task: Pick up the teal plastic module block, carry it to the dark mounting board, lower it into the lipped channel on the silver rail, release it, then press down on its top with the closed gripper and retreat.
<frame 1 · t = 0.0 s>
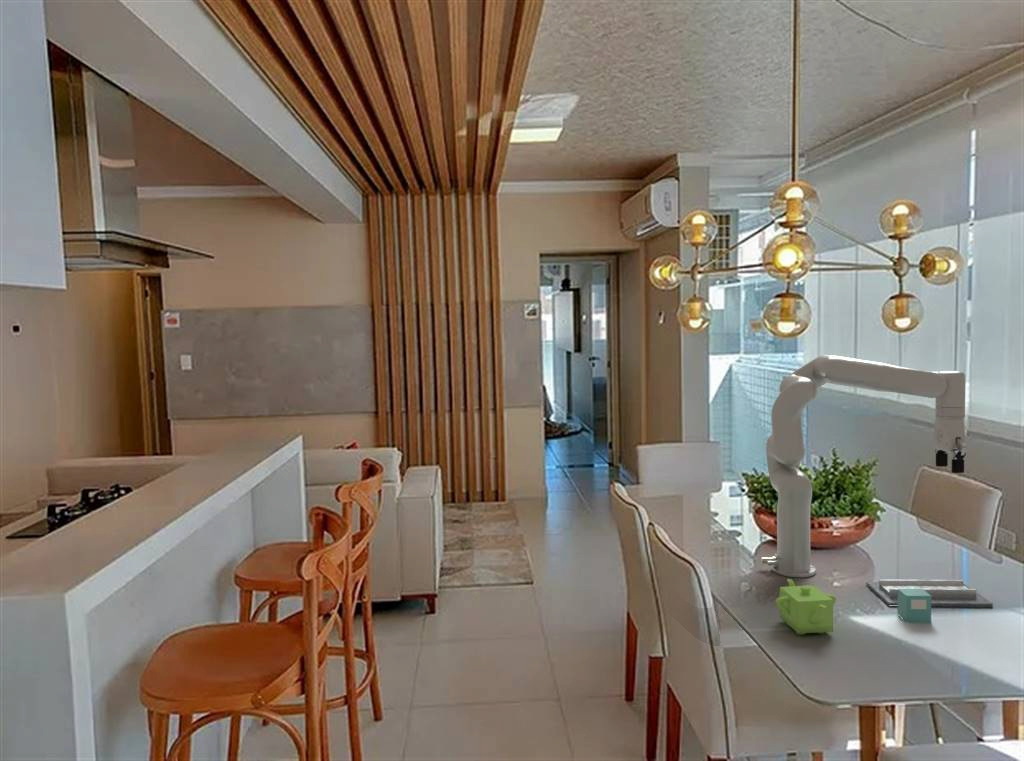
hand: (949, 469, 216), 31 cm above the table, tool pointing down, fingers open, 9 cm apart
rail board: (926, 595, 200), on the table
teapot: (805, 629, 181), on the table
module: (914, 618, 185), on the table
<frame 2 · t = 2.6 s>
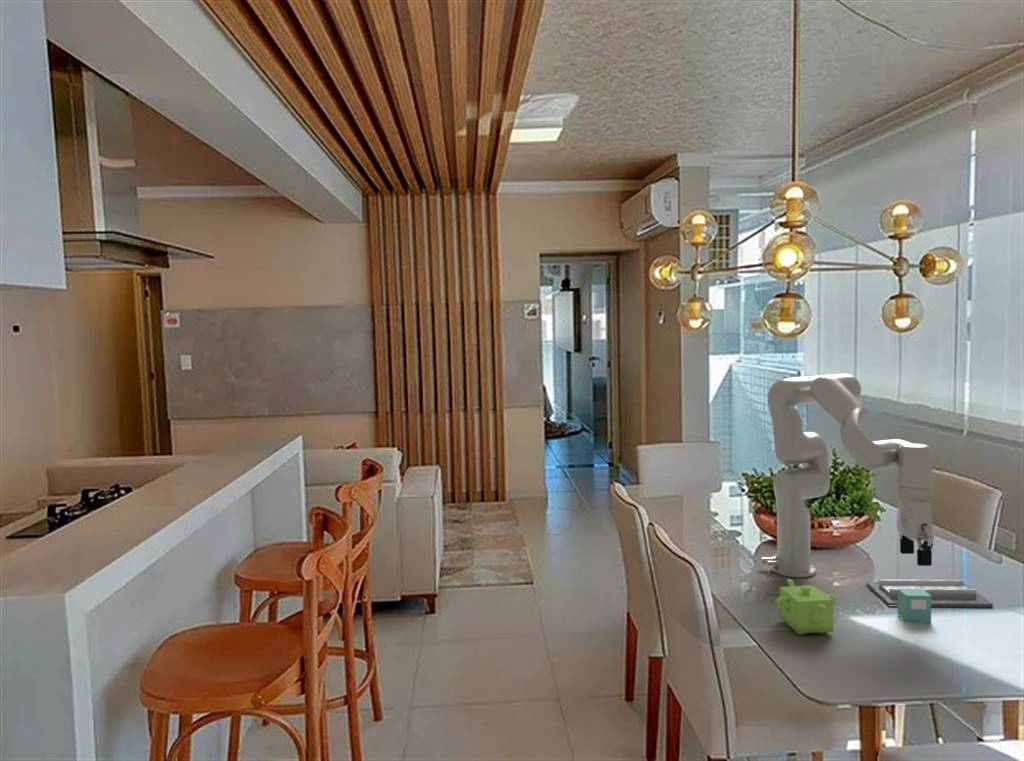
hand: (915, 559, 184), 16 cm above the table, tool pointing down, fingers open, 9 cm apart
nothing on the table moved.
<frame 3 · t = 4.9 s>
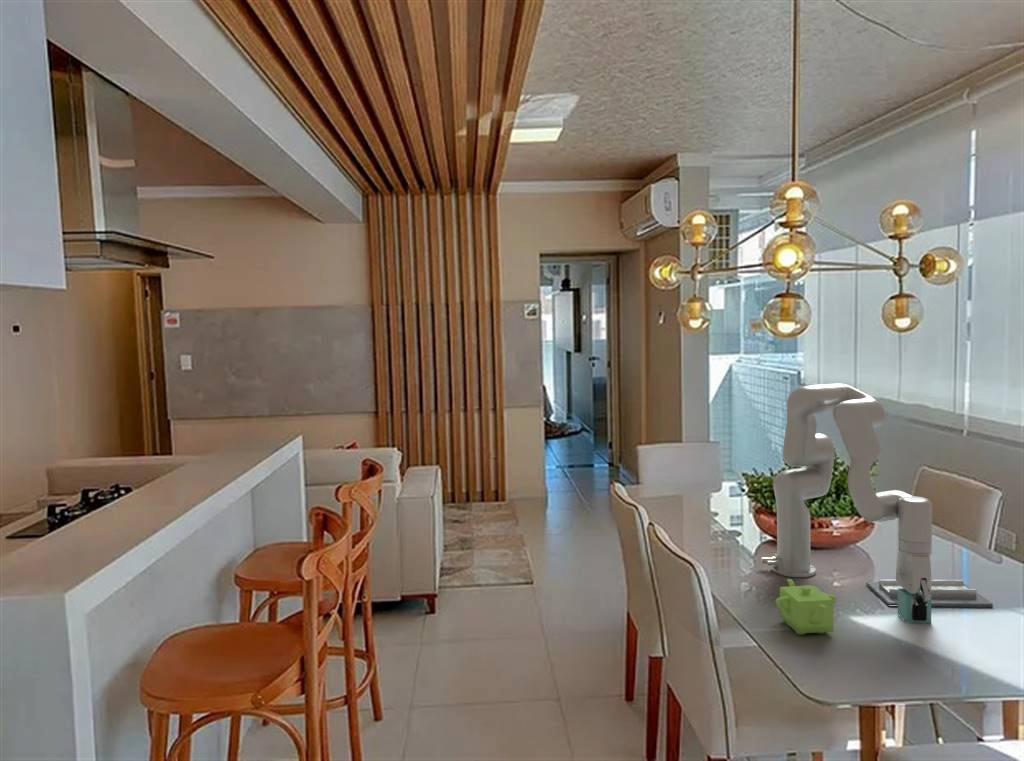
hand: (914, 614, 185), 1 cm above the table, tool pointing down, fingers closed on module, 5 cm apart
module: (914, 618, 185), on the table, touching gripper
everything else where it was.
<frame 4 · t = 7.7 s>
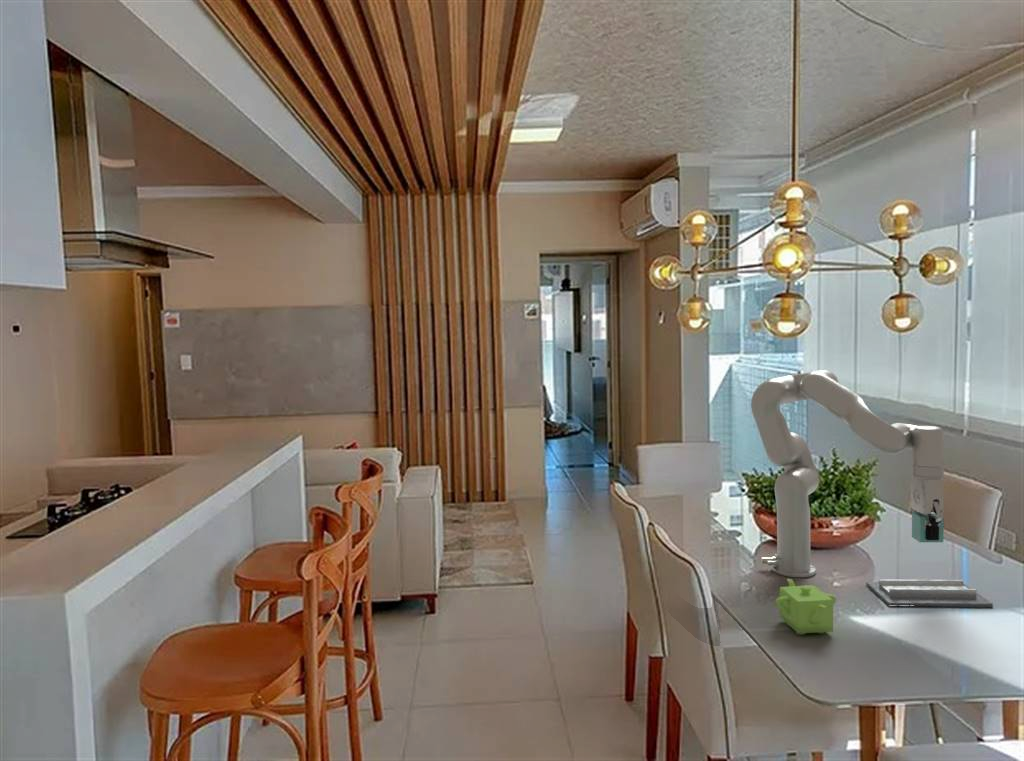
hand: (927, 536, 198), 17 cm above the table, tool pointing down, fingers closed on module, 5 cm apart
module: (927, 539, 199), point 16 cm above the table, touching gripper
everything else where it was.
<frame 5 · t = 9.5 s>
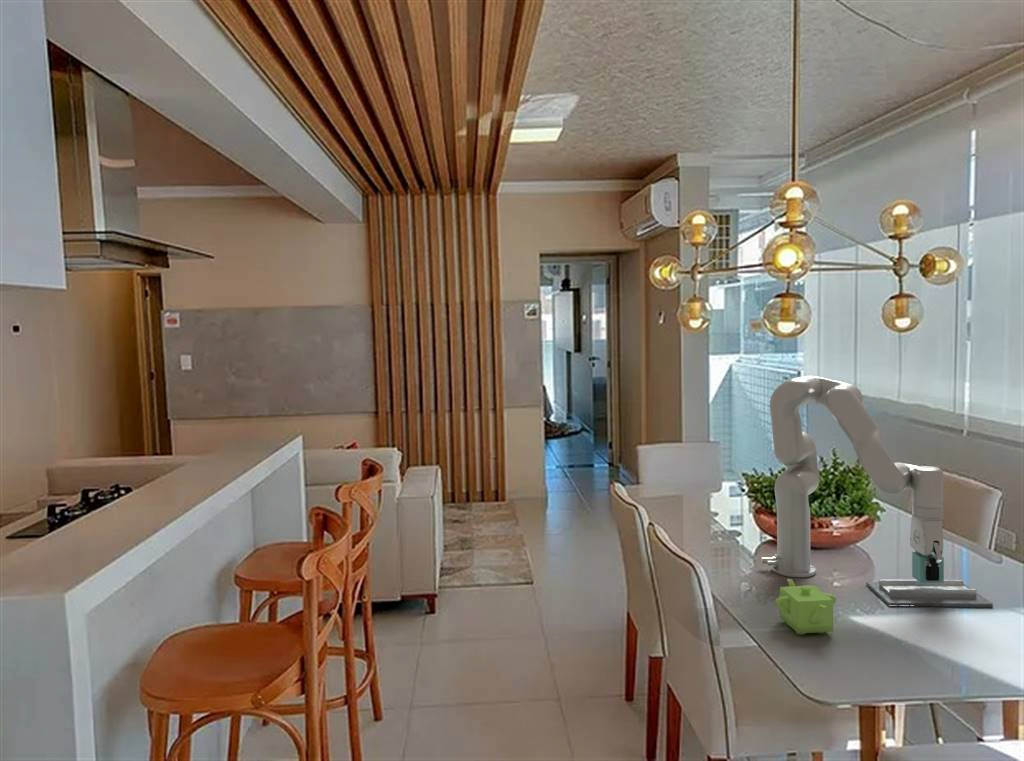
hand: (927, 576, 199), 6 cm above the table, tool pointing down, fingers closed on module, 5 cm apart
module: (927, 579, 199), point 5 cm above the table, touching gripper
everything else where it was.
when the fingers open (4 cm above the table, at t = 10.7 s): module stays where it is, resting on rail board.
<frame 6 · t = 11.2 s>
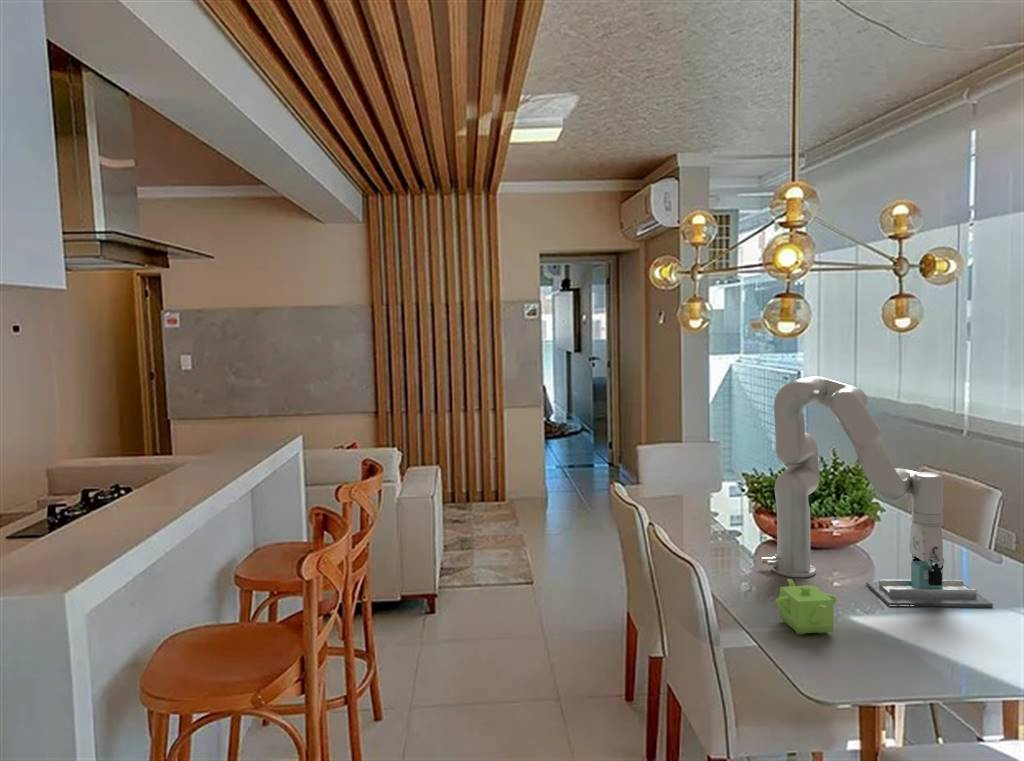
hand: (926, 578, 199), 5 cm above the table, tool pointing down, fingers open, 9 cm apart
module: (926, 588, 200), point 2 cm above the table, touching rail board
everything else where it was.
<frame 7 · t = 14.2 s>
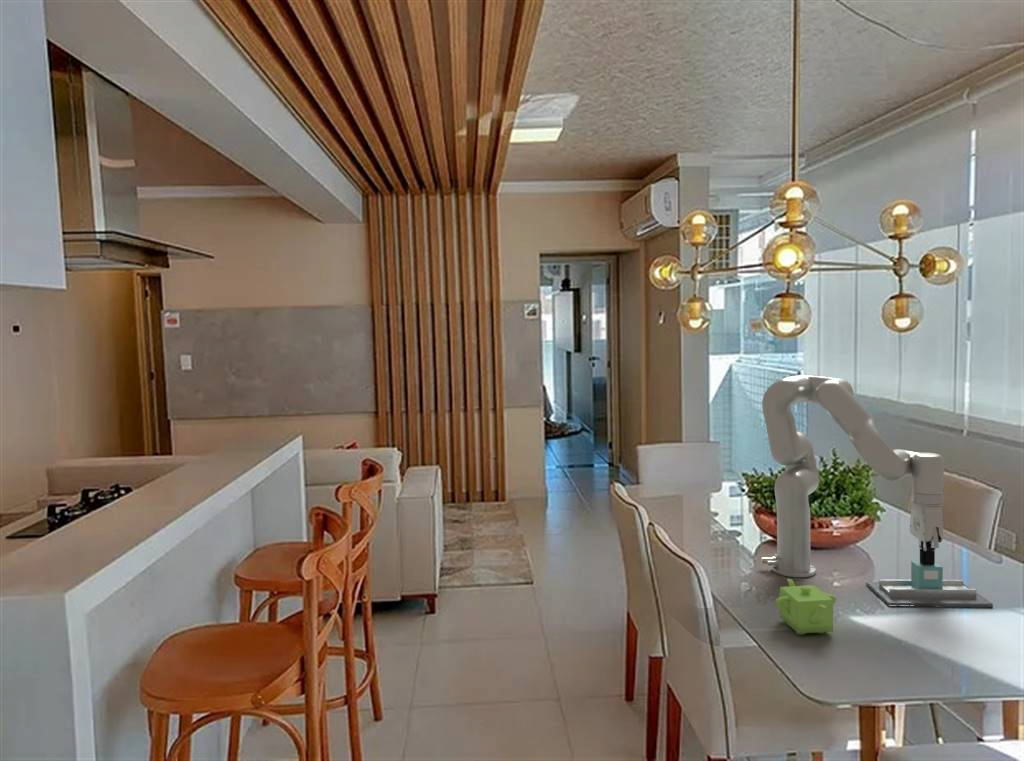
hand: (927, 563, 199), 9 cm above the table, tool pointing down, fingers closed
module: (926, 588, 200), point 2 cm above the table, touching gripper, rail board
everything else where it was.
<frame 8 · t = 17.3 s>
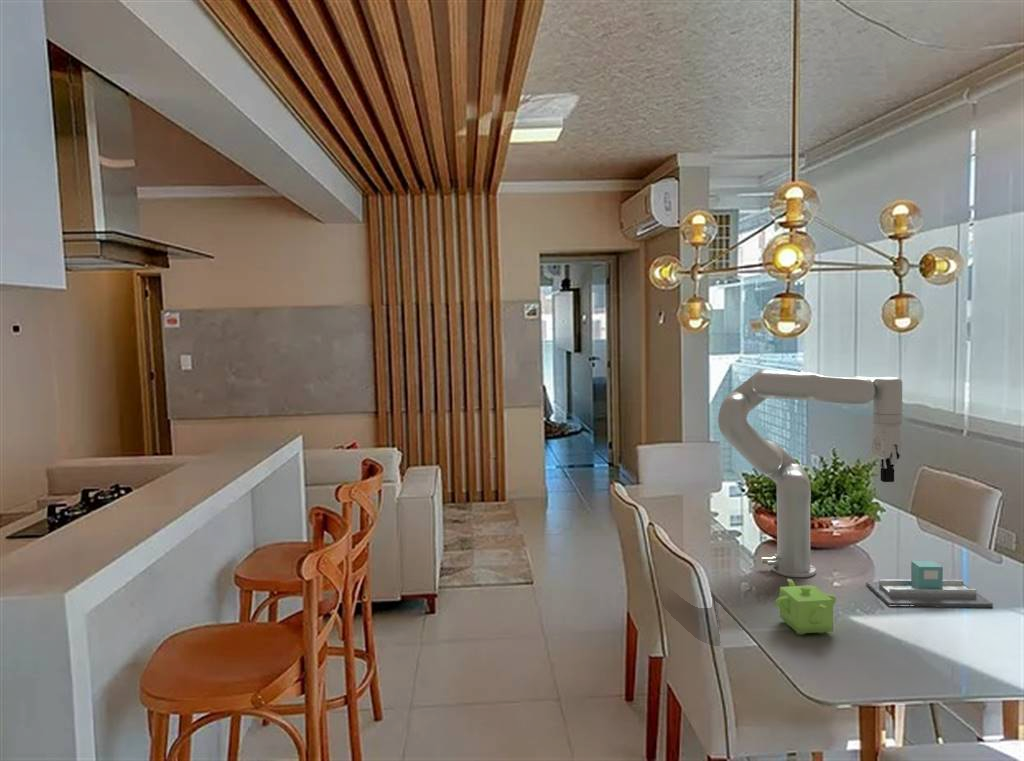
hand: (887, 481, 212), 29 cm above the table, tool pointing down, fingers closed
module: (926, 588, 200), point 2 cm above the table, touching rail board
everything else where it was.
at the end: module inside the target area on the rail board (0.0 cm from its centre), point 2.0 cm above the rail board's base; module tilted 0°; the gripper is holding nothing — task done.
